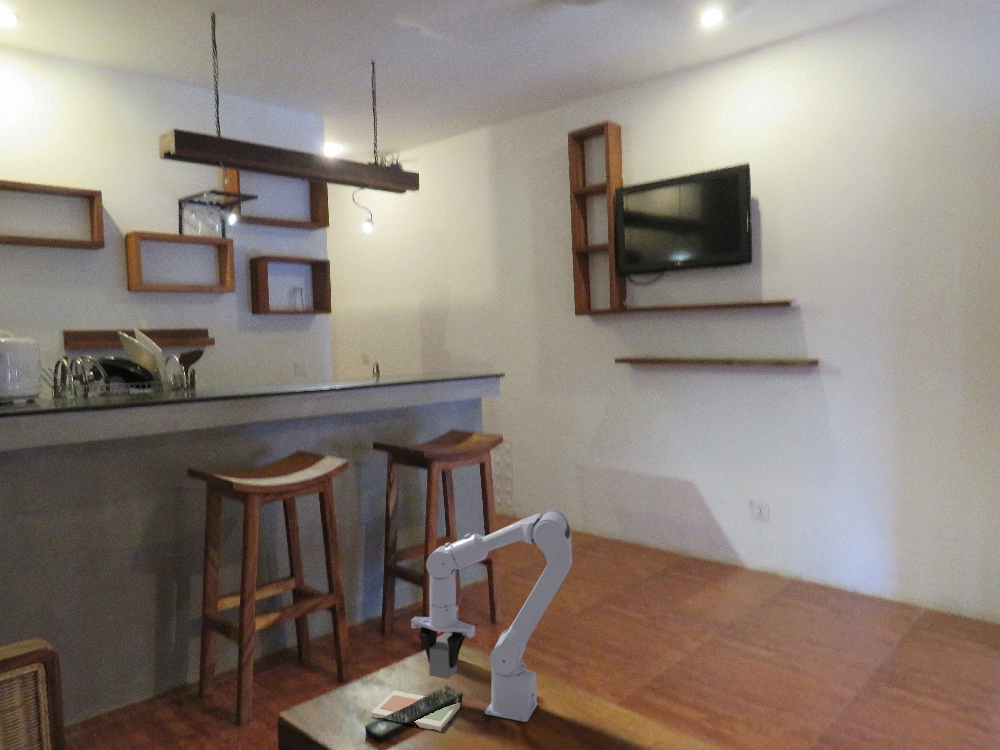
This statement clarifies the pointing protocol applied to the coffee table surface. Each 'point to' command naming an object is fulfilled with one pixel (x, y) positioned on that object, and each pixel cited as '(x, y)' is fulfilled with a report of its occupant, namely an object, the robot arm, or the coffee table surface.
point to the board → (403, 699)
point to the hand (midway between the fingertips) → (442, 664)
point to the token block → (441, 661)
